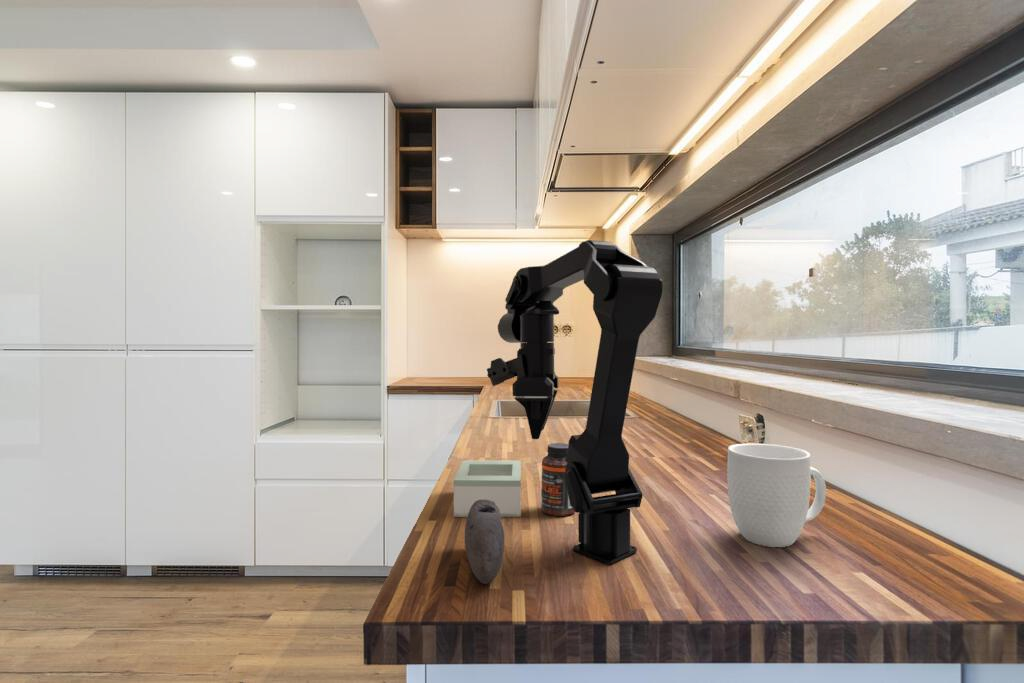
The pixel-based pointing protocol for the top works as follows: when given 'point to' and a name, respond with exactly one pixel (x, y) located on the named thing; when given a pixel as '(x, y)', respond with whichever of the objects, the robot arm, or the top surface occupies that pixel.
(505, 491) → the green and cream box
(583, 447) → the robot arm
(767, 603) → the top surface
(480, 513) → the perforated stone tool
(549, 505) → the supplement bottle
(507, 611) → the top surface
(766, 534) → the mug
